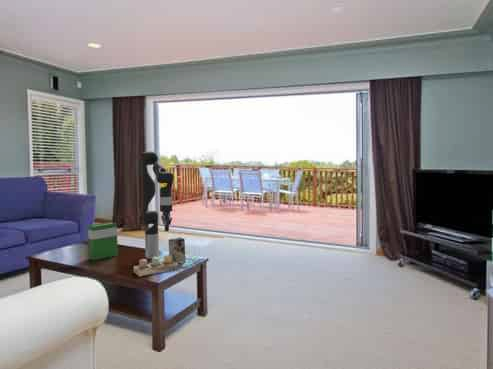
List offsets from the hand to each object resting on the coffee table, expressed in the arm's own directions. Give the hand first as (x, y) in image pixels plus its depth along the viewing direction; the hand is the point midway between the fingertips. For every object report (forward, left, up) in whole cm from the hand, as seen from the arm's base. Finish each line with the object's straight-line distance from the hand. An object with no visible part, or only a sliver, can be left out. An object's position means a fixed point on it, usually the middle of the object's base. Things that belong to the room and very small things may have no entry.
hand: (166, 231), depth 233 cm
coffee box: (-11, +11, -25) cm, 29 cm away
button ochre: (-3, +1, -22) cm, 22 cm away
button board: (-3, -7, -25) cm, 26 cm away
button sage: (-3, -7, -22) cm, 23 cm away
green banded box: (-56, -26, -25) cm, 66 cm away
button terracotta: (-3, -15, -22) cm, 26 cm away
